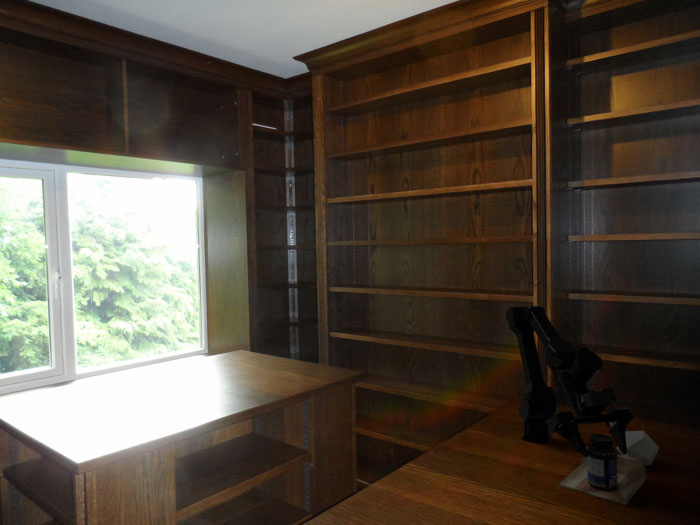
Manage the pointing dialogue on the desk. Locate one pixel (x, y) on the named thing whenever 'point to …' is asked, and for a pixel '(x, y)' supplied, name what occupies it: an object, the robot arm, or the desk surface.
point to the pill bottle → (602, 463)
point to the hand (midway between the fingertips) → (606, 455)
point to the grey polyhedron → (640, 446)
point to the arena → (628, 479)
